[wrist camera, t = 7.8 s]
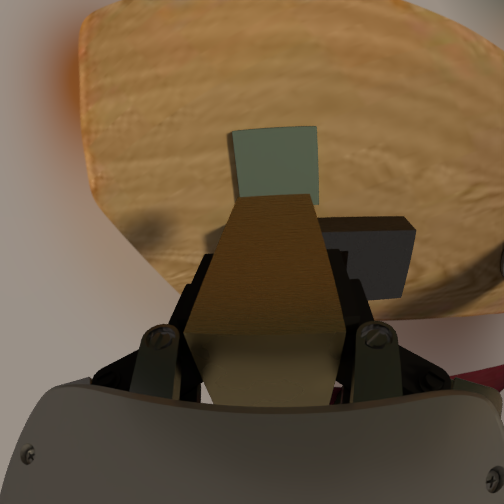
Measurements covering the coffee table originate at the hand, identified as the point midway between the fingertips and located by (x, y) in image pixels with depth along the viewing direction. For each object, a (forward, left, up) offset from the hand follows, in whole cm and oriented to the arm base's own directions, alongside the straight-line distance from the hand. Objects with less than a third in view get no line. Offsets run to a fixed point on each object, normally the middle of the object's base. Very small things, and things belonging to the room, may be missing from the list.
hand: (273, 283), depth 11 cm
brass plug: (0, 0, -5) cm, 5 cm away
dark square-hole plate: (-5, +11, -21) cm, 25 cm away
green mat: (0, 0, -21) cm, 21 cm away
